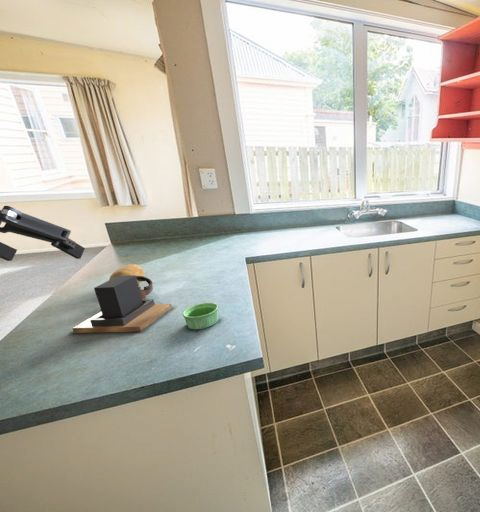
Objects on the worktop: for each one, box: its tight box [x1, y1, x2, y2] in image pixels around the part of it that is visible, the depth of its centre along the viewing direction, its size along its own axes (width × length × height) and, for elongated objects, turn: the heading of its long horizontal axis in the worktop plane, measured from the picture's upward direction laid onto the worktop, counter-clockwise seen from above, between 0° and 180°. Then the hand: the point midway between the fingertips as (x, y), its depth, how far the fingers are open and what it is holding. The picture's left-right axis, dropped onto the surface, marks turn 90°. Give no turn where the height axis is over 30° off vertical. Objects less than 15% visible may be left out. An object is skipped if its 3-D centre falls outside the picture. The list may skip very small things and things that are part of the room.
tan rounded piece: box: [108, 263, 146, 285], centre depth 111 cm, size 10×14×8 cm
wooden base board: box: [71, 298, 173, 334], centre depth 89 cm, size 18×14×4 cm
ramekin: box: [182, 302, 220, 330], centre depth 87 cm, size 9×9×4 cm
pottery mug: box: [136, 276, 154, 300], centre depth 102 cm, size 12×10×8 cm
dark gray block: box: [93, 275, 143, 318], centre depth 87 cm, size 5×9×11 cm, turn 7°
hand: (47, 254), depth 66 cm, fingers open, 13 cm apart
